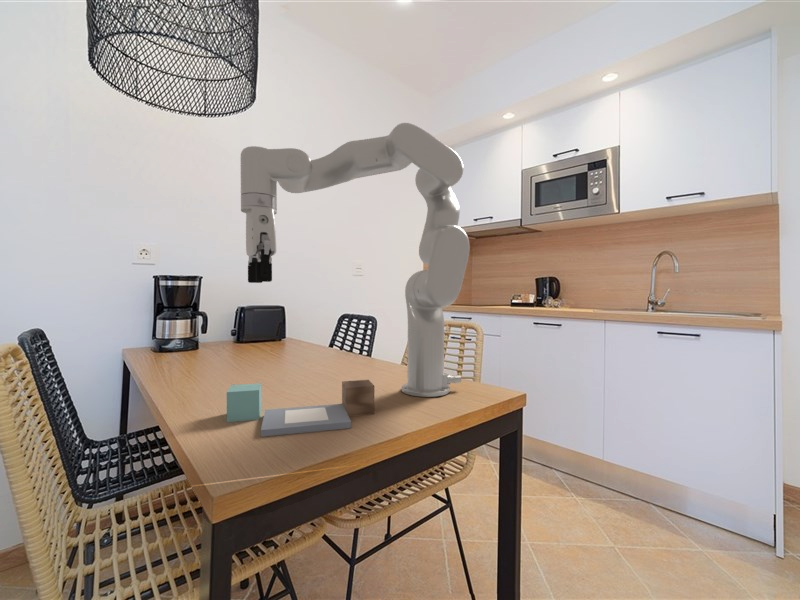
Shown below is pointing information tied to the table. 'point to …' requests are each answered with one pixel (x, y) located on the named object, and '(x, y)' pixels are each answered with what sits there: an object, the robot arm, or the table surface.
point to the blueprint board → (304, 419)
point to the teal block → (244, 402)
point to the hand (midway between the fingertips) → (259, 282)
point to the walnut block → (358, 397)
